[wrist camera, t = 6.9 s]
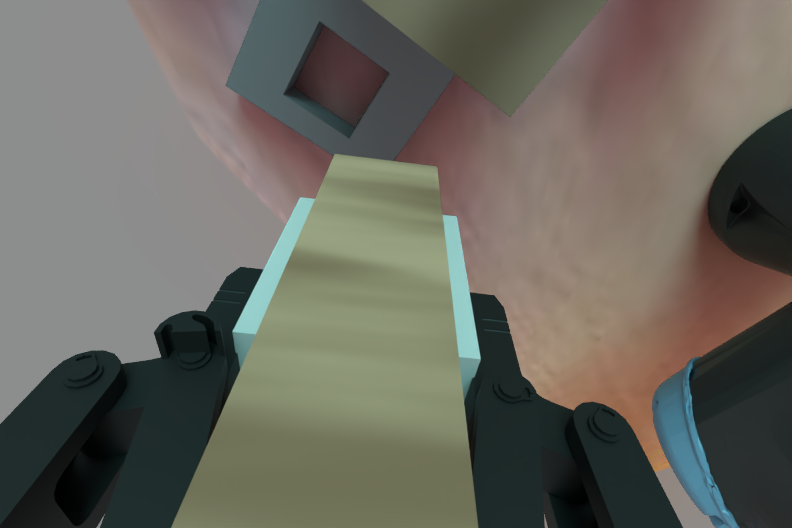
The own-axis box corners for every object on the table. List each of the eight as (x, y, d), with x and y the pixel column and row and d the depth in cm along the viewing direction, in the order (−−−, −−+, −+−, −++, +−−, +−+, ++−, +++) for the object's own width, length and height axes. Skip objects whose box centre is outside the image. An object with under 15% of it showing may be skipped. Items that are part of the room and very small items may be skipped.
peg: (421, 251, 18) (433, 706, 7) (332, 240, 18) (195, 687, 7) (437, 166, 16) (491, 640, 5) (334, 153, 16) (135, 609, 5)
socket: (480, 28, 31) (484, 32, 29) (380, 171, 38) (376, 184, 36) (318, -109, 27) (307, -117, 25) (239, 77, 34) (225, 85, 32)
